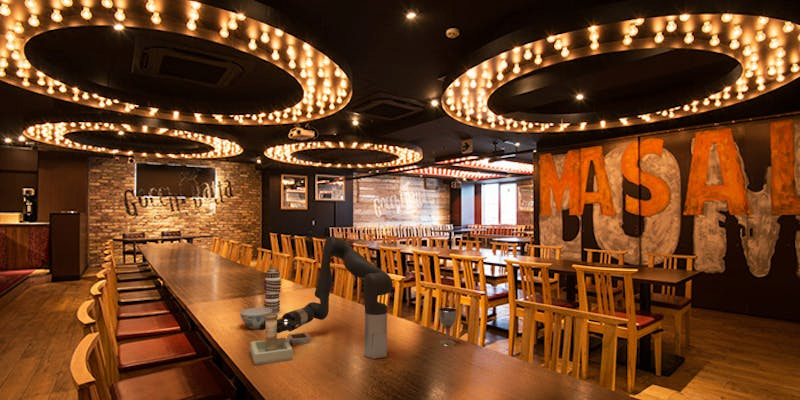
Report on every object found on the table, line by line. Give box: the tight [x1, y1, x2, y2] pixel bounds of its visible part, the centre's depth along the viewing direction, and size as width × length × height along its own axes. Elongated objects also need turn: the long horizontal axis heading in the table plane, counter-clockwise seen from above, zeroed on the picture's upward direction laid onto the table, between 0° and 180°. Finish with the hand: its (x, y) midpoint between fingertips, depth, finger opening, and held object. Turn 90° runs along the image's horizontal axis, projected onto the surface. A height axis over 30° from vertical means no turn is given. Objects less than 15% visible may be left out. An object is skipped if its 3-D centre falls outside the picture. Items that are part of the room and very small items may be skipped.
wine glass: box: [438, 306, 458, 347], centre depth 178 cm, size 8×8×15 cm
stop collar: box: [286, 331, 311, 346], centre depth 179 cm, size 9×9×2 cm
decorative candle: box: [263, 268, 282, 315], centre depth 225 cm, size 9×9×25 cm
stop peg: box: [264, 314, 279, 352], centre depth 160 cm, size 5×5×15 cm
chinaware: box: [239, 307, 272, 330], centre depth 199 cm, size 15×15×8 cm
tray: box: [250, 337, 294, 366], centre depth 160 cm, size 16×14×4 cm
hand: (268, 329), depth 159 cm, fingers open, 8 cm apart
